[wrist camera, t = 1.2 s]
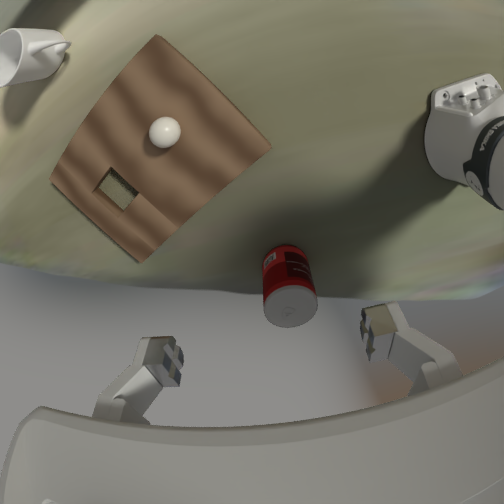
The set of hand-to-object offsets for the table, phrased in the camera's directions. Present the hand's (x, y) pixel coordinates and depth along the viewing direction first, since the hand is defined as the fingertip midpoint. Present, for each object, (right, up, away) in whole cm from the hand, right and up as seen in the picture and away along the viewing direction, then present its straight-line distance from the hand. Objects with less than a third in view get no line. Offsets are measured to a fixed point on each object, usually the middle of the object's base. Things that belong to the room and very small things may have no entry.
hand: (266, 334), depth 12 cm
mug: (-31, +34, +15) cm, 49 cm away
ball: (-11, +18, +20) cm, 30 cm away
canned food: (+5, +2, +37) cm, 37 cm away
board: (-16, +17, +26) cm, 35 cm away
